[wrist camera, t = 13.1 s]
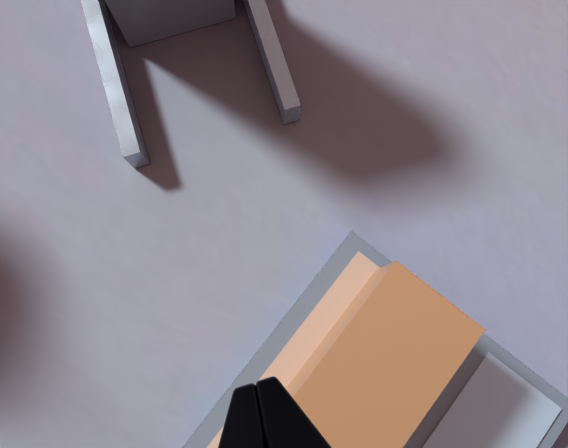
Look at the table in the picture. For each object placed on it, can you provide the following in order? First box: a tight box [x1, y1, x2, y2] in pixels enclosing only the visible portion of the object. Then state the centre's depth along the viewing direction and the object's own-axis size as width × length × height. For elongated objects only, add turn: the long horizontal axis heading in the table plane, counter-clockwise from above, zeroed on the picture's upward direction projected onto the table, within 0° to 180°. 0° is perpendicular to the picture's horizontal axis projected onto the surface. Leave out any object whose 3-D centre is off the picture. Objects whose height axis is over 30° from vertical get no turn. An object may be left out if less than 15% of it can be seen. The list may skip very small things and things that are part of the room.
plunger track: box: [81, 0, 301, 168], centre depth 21 cm, size 11×8×4 cm
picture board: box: [183, 232, 568, 448], centre depth 20 cm, size 11×11×1 cm
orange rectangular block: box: [286, 261, 486, 448], centre depth 18 cm, size 4×10×4 cm, turn 141°
